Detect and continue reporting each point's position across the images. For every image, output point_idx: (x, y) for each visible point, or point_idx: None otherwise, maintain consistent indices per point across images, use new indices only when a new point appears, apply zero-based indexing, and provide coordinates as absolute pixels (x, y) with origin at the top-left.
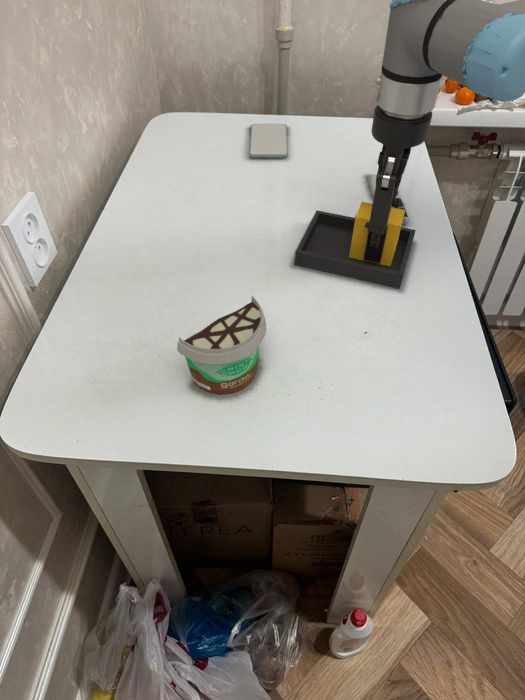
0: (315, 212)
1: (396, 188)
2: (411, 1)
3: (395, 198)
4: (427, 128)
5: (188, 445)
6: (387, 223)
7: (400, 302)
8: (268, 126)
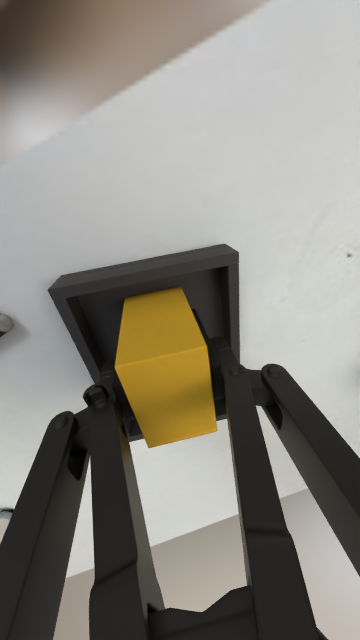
0: (131, 441)
1: (123, 466)
2: None
3: (96, 415)
4: None
5: None
6: (210, 375)
7: (261, 227)
8: None
